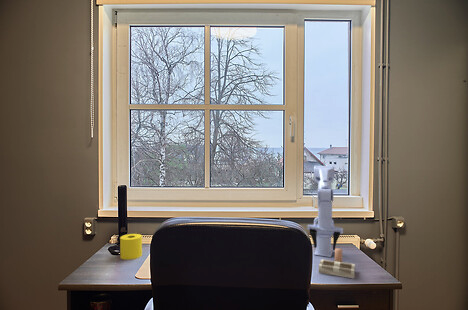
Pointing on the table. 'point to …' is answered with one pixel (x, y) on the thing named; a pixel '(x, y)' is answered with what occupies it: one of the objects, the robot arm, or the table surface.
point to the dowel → (338, 254)
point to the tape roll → (130, 246)
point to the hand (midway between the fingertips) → (324, 248)
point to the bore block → (337, 268)
